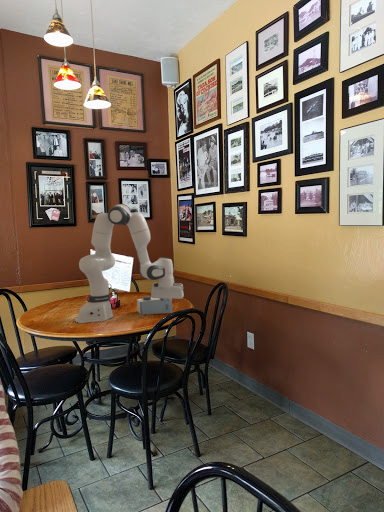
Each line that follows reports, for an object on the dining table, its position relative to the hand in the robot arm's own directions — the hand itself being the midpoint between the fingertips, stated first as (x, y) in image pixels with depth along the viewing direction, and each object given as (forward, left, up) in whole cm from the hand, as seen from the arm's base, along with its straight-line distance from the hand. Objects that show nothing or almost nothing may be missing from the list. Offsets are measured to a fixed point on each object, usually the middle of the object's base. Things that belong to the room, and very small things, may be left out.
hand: (167, 305), depth 221 cm
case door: (-7, +1, -4) cm, 9 cm away
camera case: (-9, +10, -5) cm, 14 cm away
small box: (+6, +31, -5) cm, 32 cm away
